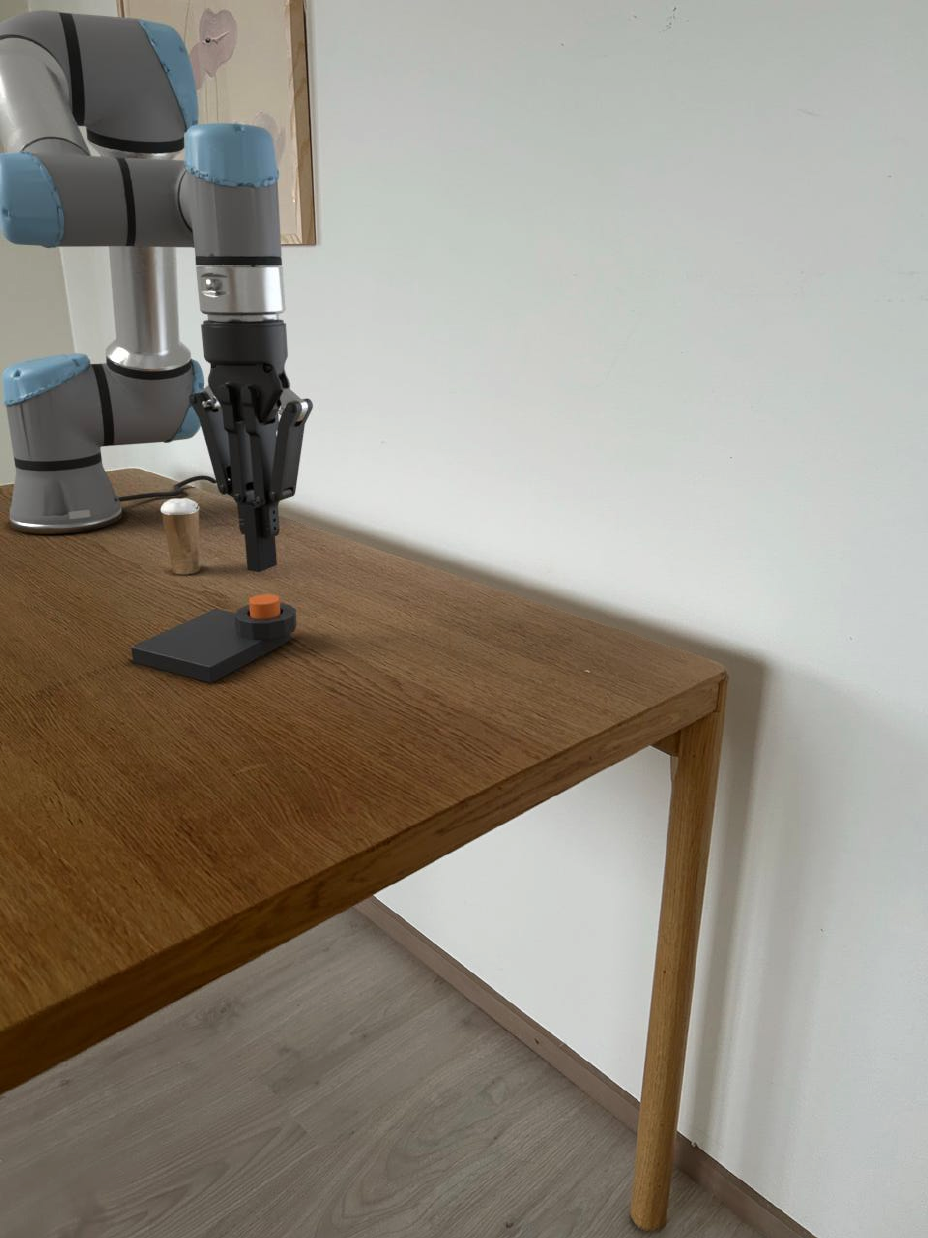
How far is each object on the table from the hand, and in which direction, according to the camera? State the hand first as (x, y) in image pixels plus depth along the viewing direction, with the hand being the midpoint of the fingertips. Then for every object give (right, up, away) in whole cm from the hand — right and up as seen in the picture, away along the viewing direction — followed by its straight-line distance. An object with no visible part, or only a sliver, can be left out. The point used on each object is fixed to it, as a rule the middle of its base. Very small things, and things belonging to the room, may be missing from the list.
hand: (262, 567), depth 94 cm
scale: (-5, -8, +1) cm, 10 cm away
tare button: (0, -5, +2) cm, 5 cm away
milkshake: (-14, +1, +25) cm, 29 cm away
